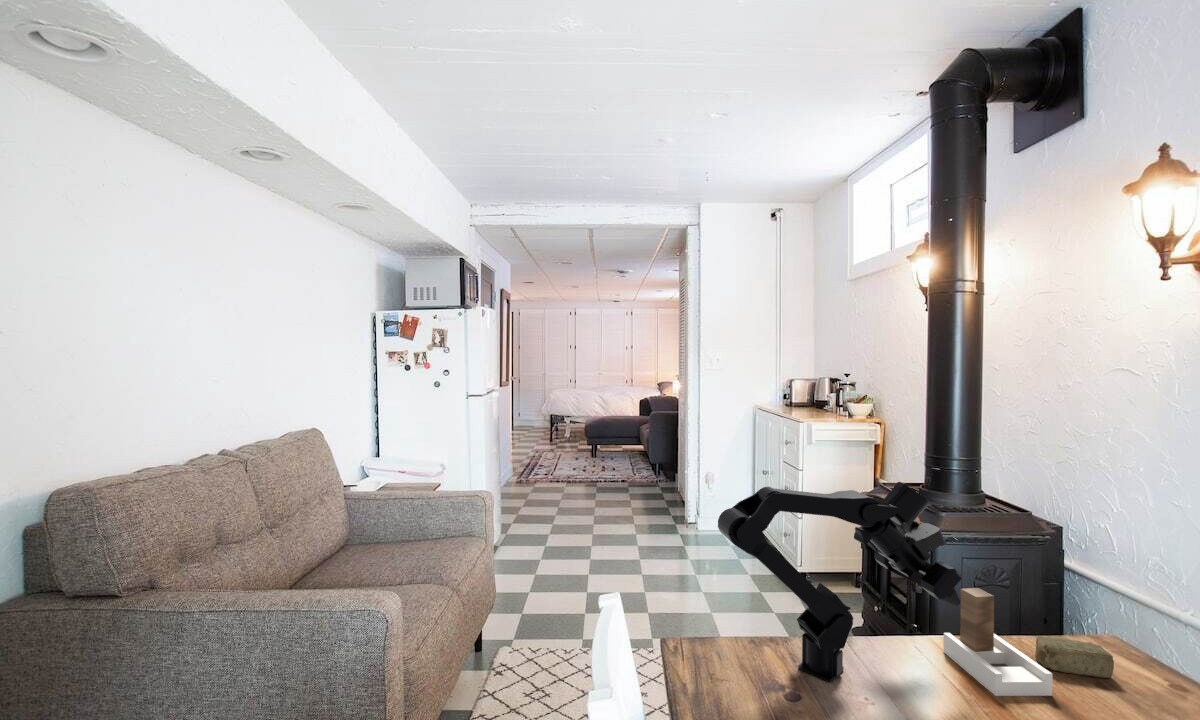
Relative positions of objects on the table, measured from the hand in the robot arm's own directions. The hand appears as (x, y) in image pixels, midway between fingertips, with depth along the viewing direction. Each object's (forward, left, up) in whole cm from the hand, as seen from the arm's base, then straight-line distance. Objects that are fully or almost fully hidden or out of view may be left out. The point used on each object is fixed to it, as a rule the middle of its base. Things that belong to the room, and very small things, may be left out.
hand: (940, 594), depth 113 cm
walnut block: (+5, +7, -11) cm, 14 cm away
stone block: (+19, +16, -14) cm, 29 cm away
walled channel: (+8, +3, -14) cm, 16 cm away
